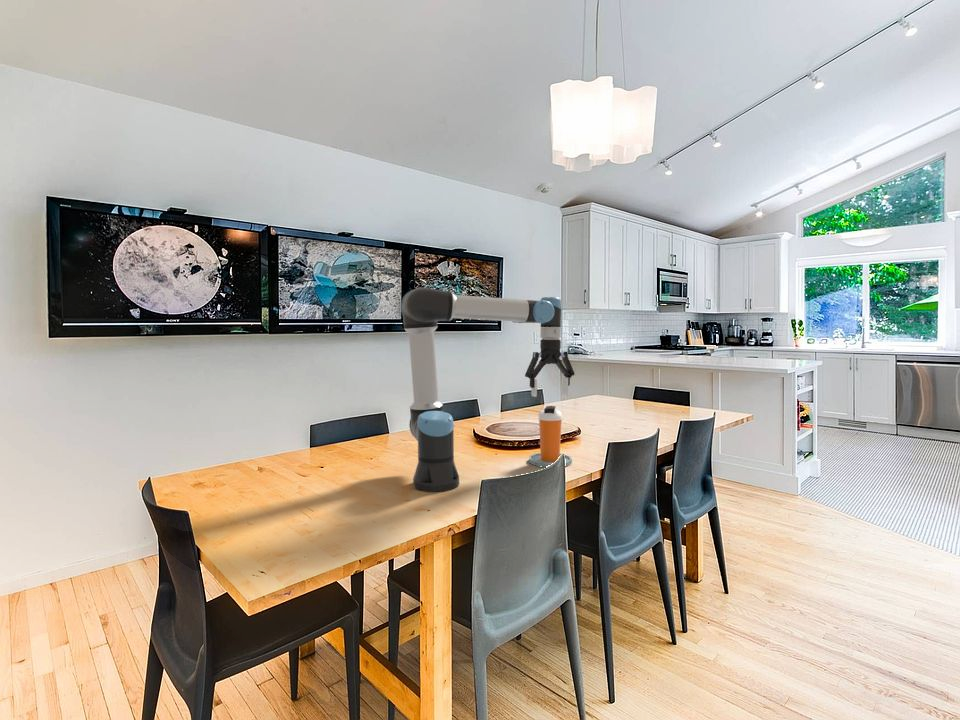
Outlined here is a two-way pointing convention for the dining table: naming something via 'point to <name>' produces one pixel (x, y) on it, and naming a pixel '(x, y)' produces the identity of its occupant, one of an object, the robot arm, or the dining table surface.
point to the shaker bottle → (550, 433)
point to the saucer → (536, 460)
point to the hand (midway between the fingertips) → (549, 395)
